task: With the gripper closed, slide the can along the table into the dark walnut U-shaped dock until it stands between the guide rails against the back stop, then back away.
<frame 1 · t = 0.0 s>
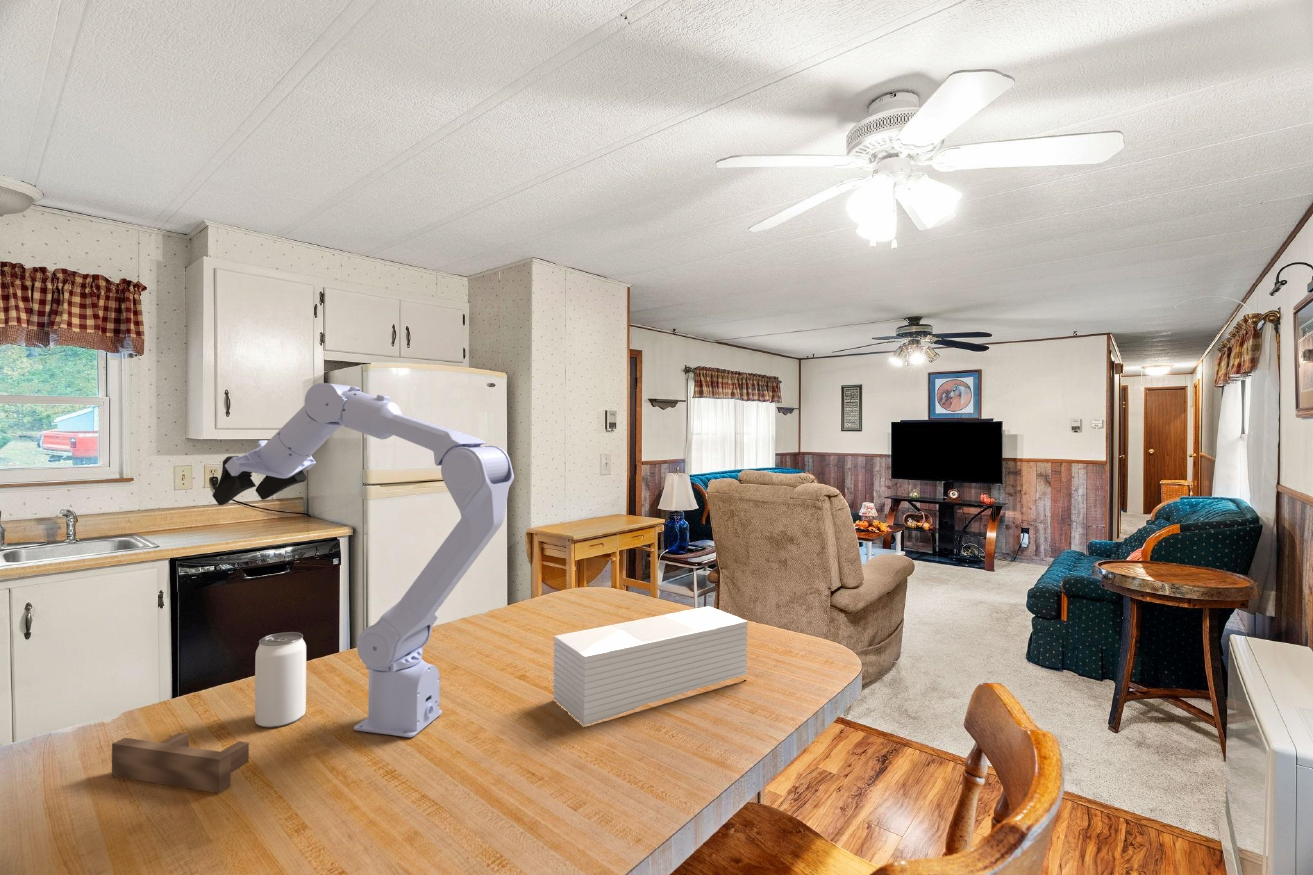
hand: (239, 497, 96), 32 cm above the table, tool tilted 50°, fingers open, 7 cm apart
can: (280, 719, 91), on the table
stack of papers: (654, 692, 103), on the table
dock: (206, 760, 80), on the table
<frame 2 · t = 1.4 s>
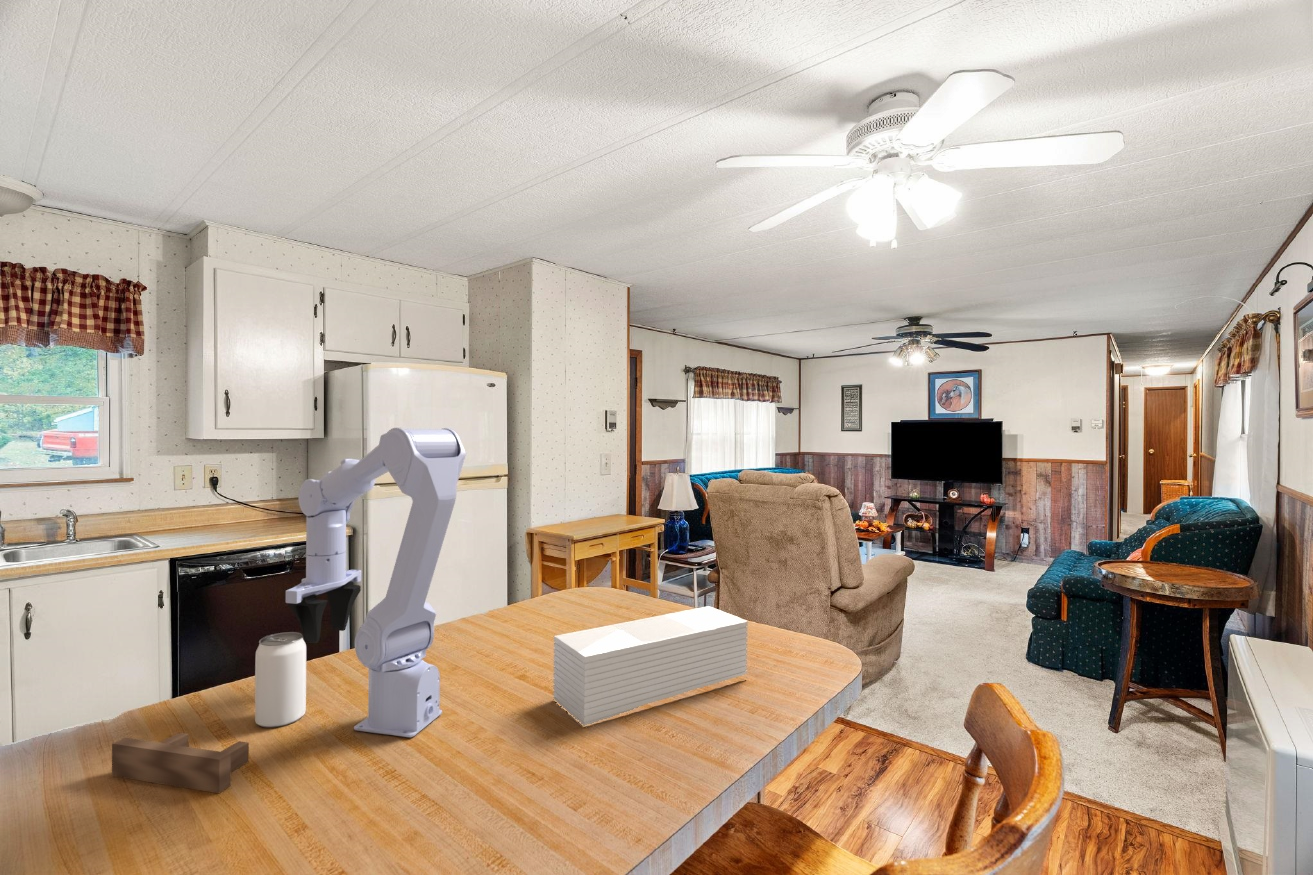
hand: (325, 635, 100), 9 cm above the table, tool pointing down, fingers open, 5 cm apart
nothing on the table moved.
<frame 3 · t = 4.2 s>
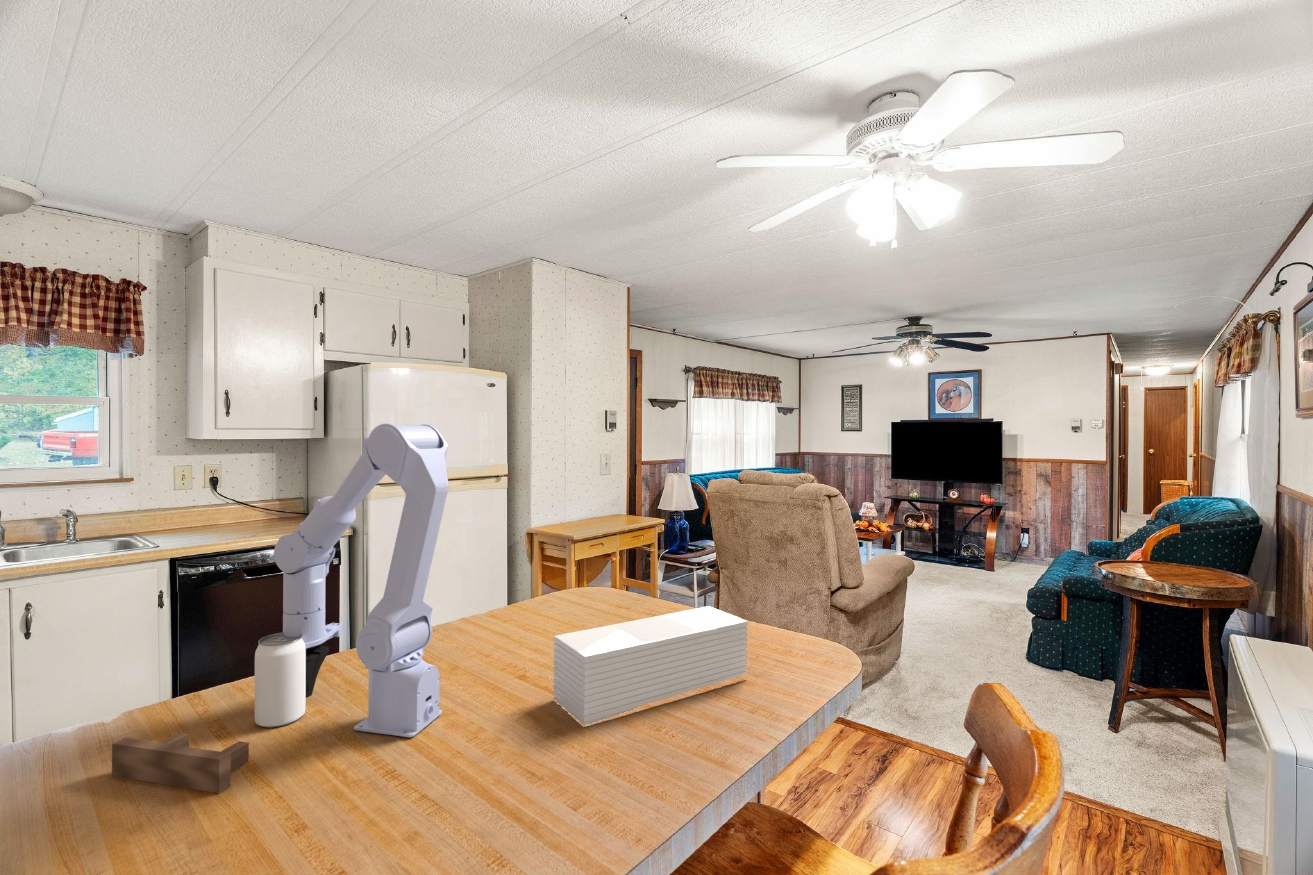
hand: (303, 695, 96), 1 cm above the table, tool pointing down, fingers closed
can: (280, 719, 91), on the table, touching gripper
everything else where it was.
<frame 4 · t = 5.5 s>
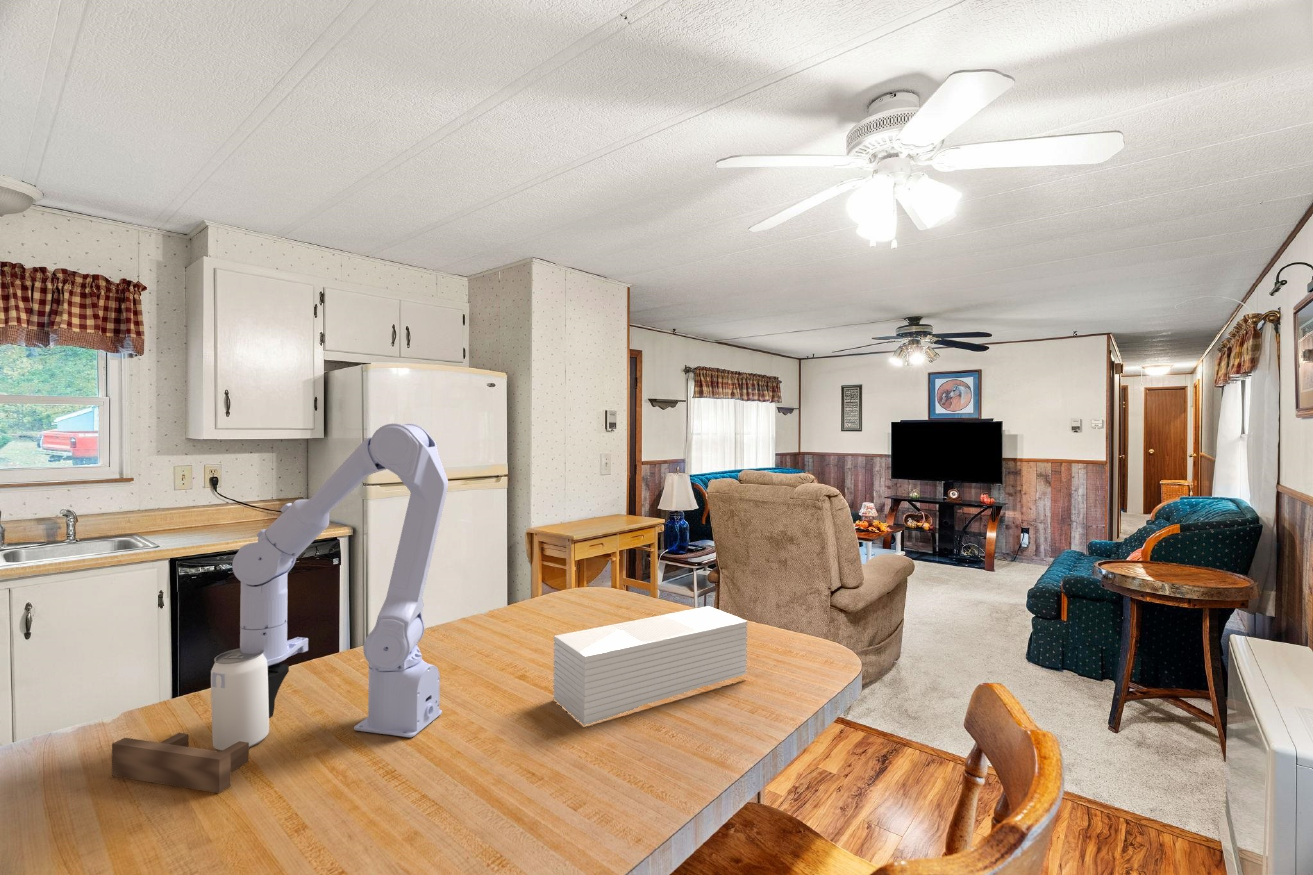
hand: (263, 717, 88), 1 cm above the table, tool pointing down, fingers closed
can: (241, 741, 85), on the table, touching gripper
everything else where it was.
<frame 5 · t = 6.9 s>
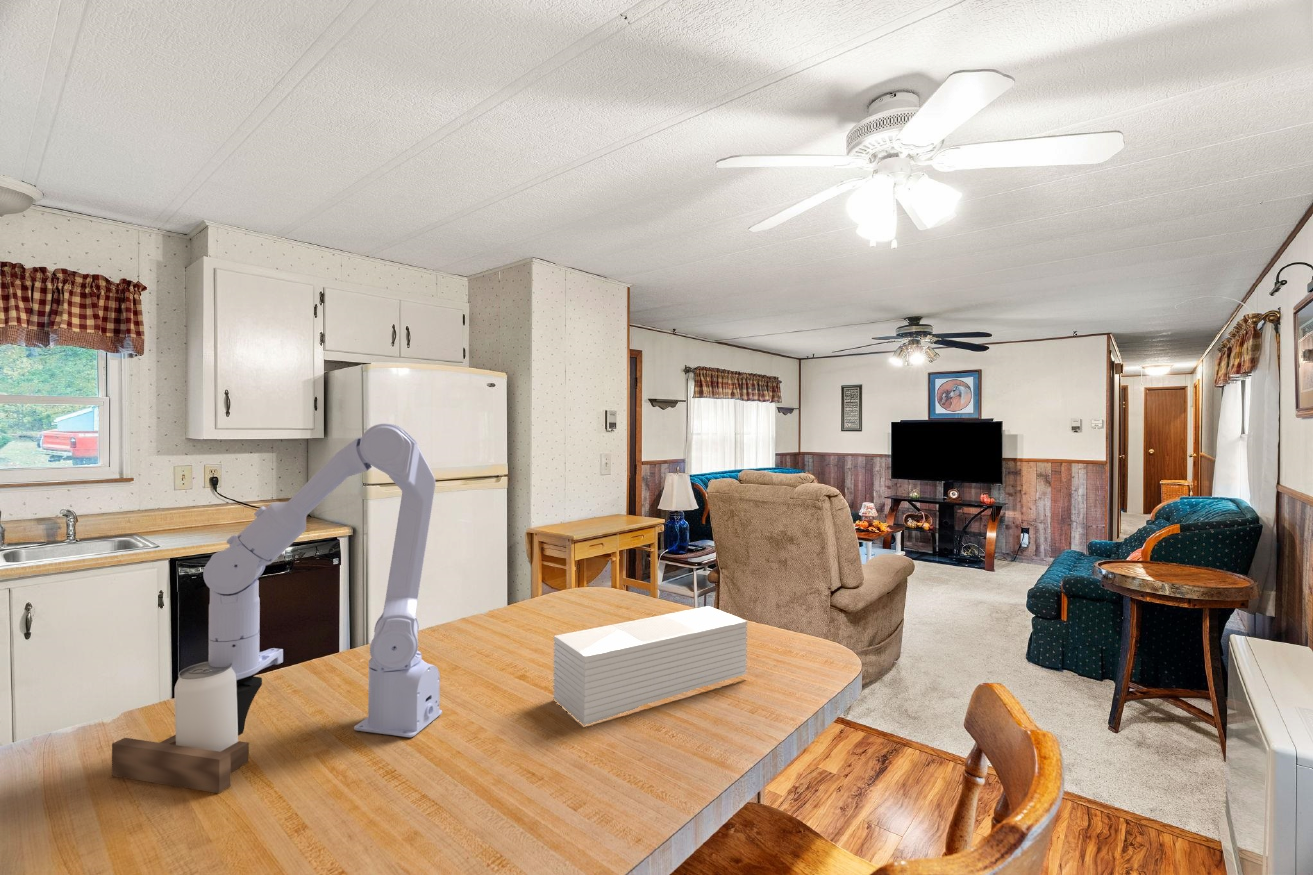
hand: (233, 734, 84), 1 cm above the table, tool pointing down, fingers closed
can: (208, 761, 80), on the table, touching gripper
everything else where it was.
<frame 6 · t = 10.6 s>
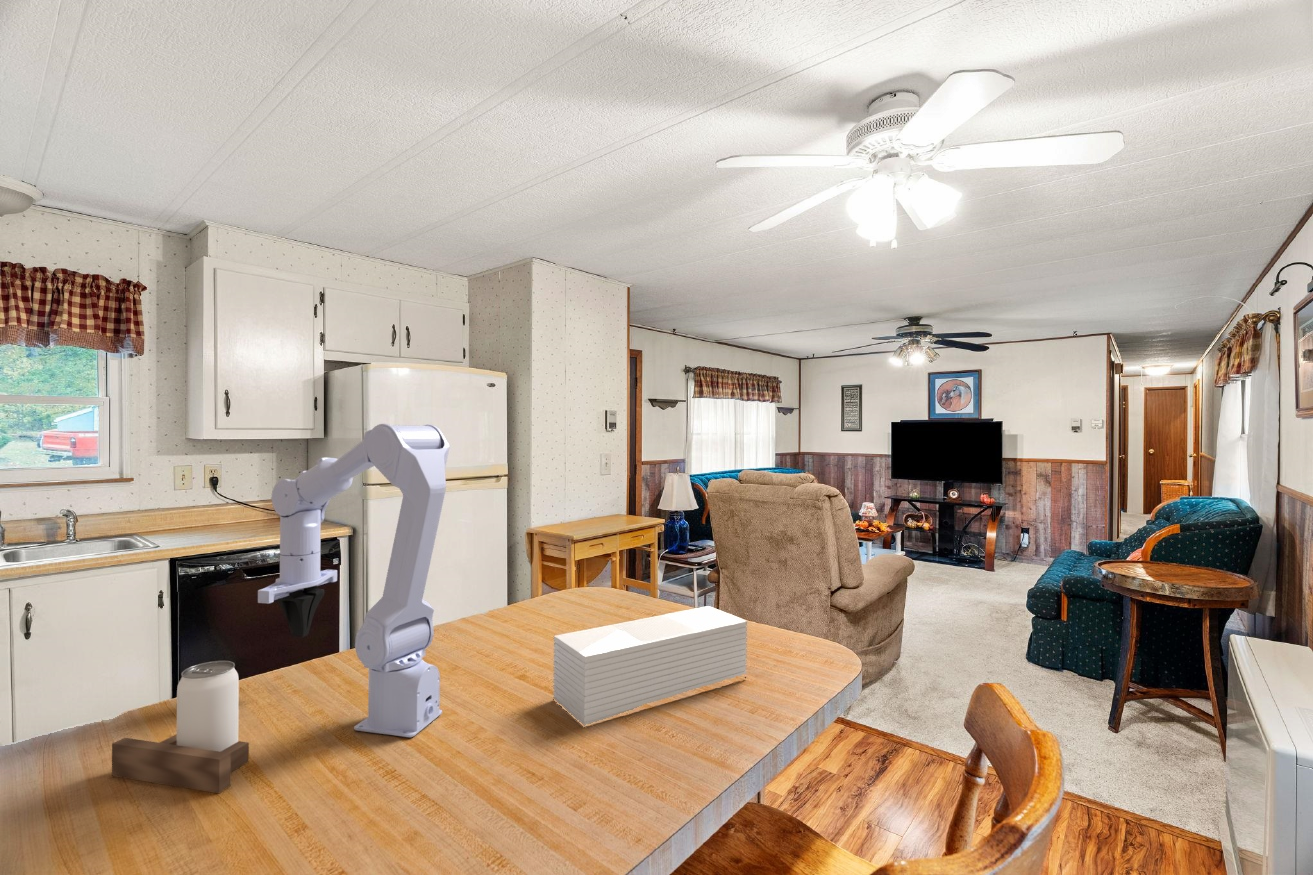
hand: (299, 635, 100), 9 cm above the table, tool pointing down, fingers closed
can: (208, 762, 80), on the table
everything else where it was.
at the end: can 0.8 cm off-centre on the dock, point 0.0 cm above the dock's base; can tilted 0°; the gripper is holding nothing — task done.
